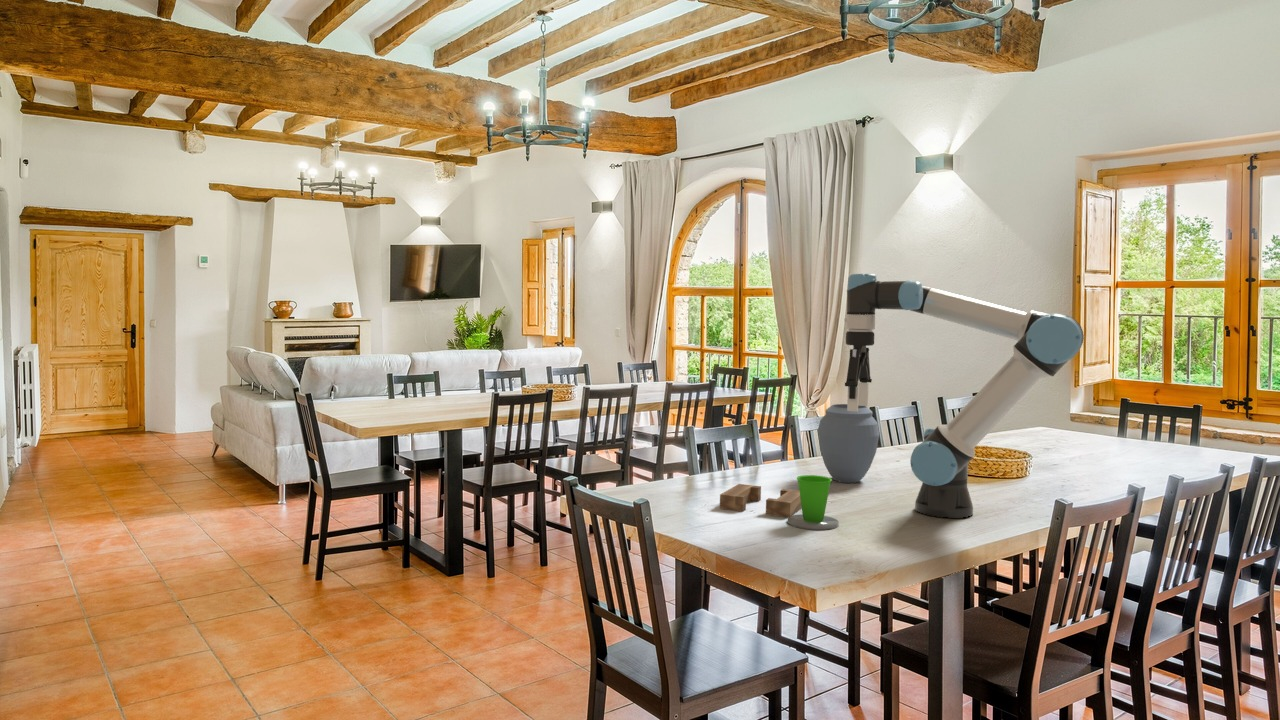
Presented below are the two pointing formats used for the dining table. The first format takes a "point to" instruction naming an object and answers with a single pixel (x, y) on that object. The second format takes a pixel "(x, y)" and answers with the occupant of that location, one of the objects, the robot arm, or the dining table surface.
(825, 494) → the cup
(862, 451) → the vase
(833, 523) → the coaster
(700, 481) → the dining table surface
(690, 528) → the dining table surface
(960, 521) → the dining table surface
